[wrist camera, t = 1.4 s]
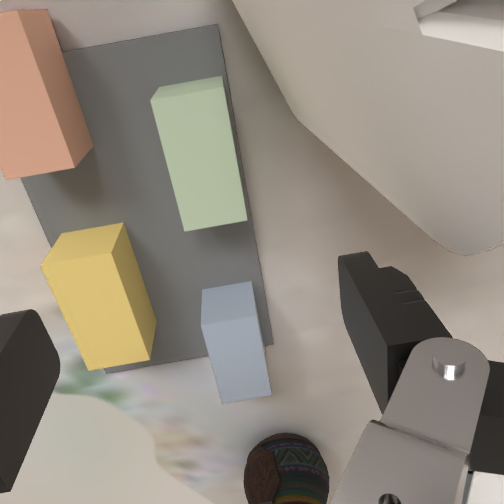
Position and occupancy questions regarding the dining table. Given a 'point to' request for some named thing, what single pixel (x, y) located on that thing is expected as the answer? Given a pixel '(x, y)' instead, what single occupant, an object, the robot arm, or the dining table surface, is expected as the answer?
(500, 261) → the dining table surface
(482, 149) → the milk
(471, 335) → the dining table surface
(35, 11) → the terracotta block
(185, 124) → the green block
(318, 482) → the mate gourd
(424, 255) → the dining table surface
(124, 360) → the mustard block
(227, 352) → the blue block
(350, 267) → the robot arm
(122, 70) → the mat
